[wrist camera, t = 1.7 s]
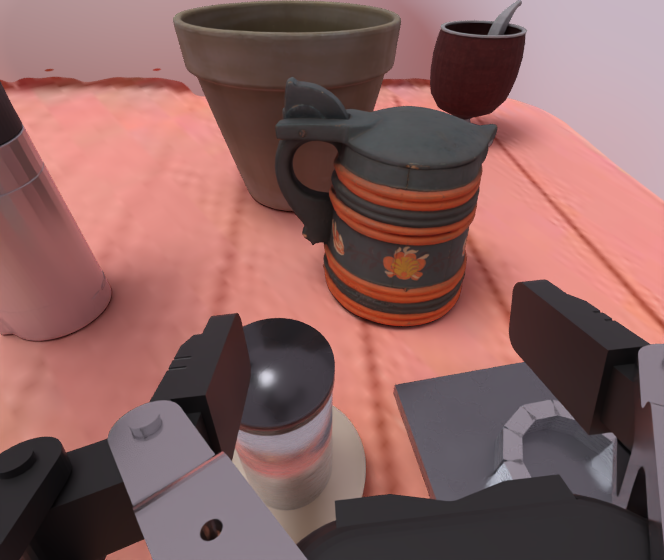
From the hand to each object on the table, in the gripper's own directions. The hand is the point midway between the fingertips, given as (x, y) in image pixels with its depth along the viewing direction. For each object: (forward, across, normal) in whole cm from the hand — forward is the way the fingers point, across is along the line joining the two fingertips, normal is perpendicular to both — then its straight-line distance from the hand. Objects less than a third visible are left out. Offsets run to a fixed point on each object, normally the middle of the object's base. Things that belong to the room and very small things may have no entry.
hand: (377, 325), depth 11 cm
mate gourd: (+65, -26, 0) cm, 70 cm away
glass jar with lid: (+9, +5, +15) cm, 18 cm away
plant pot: (+49, +4, +4) cm, 49 cm away
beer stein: (+29, -4, +12) cm, 31 cm away
